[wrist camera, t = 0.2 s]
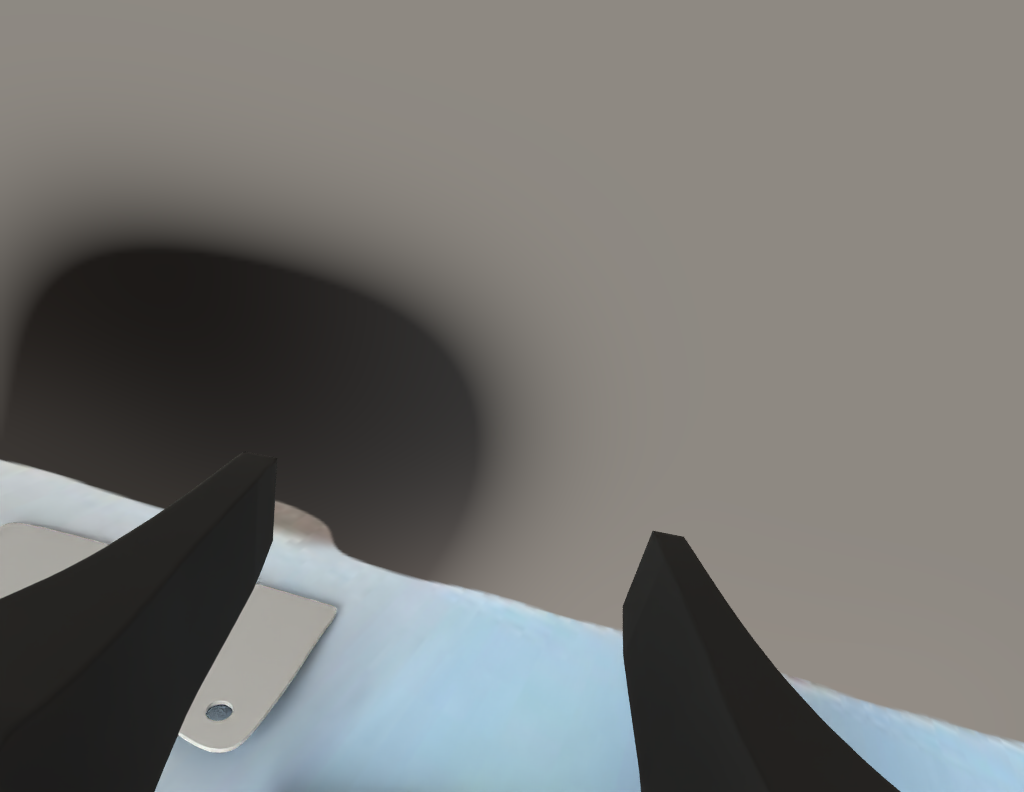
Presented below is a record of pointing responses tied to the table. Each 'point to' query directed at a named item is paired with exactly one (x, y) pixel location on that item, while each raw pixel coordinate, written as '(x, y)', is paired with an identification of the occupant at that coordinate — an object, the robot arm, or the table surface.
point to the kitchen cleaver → (240, 663)
